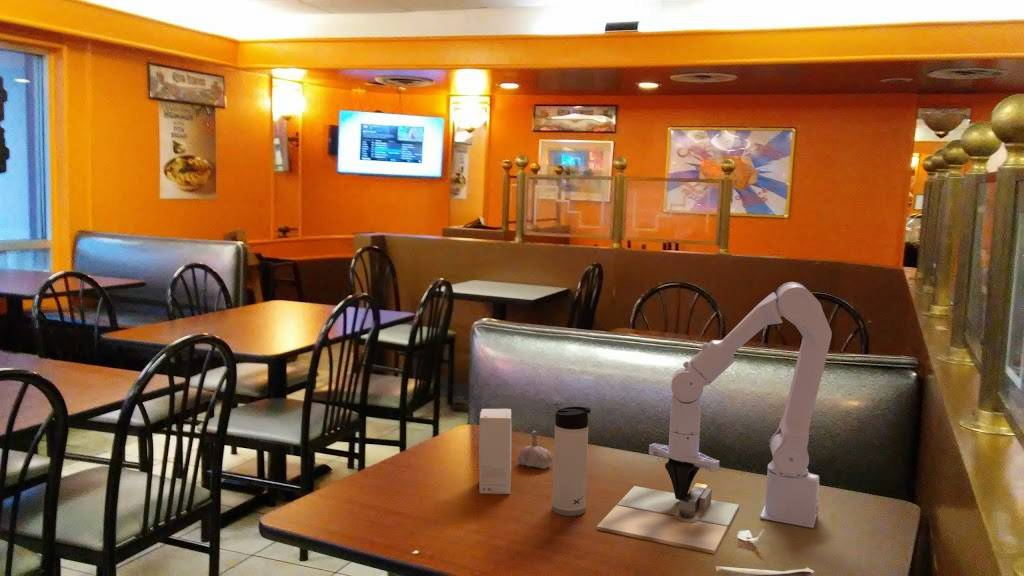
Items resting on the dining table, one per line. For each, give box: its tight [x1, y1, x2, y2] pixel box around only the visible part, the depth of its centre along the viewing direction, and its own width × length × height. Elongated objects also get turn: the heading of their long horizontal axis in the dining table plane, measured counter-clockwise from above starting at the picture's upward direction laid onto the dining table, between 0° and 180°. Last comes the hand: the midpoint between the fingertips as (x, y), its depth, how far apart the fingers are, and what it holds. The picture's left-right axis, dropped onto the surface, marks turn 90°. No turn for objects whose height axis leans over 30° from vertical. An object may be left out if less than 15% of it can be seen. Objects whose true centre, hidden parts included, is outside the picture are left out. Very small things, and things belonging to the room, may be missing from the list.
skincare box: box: [478, 408, 512, 495], centre depth 165 cm, size 8×7×16 cm
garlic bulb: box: [517, 430, 554, 470], centre depth 179 cm, size 8×7×8 cm
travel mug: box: [552, 406, 592, 517], centre depth 154 cm, size 6×7×20 cm
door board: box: [596, 485, 740, 555], centre depth 152 cm, size 21×23×3 cm
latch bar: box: [679, 482, 709, 518], centre depth 155 cm, size 13×3×3 cm, turn 154°
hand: (681, 498), depth 159 cm, fingers closed
